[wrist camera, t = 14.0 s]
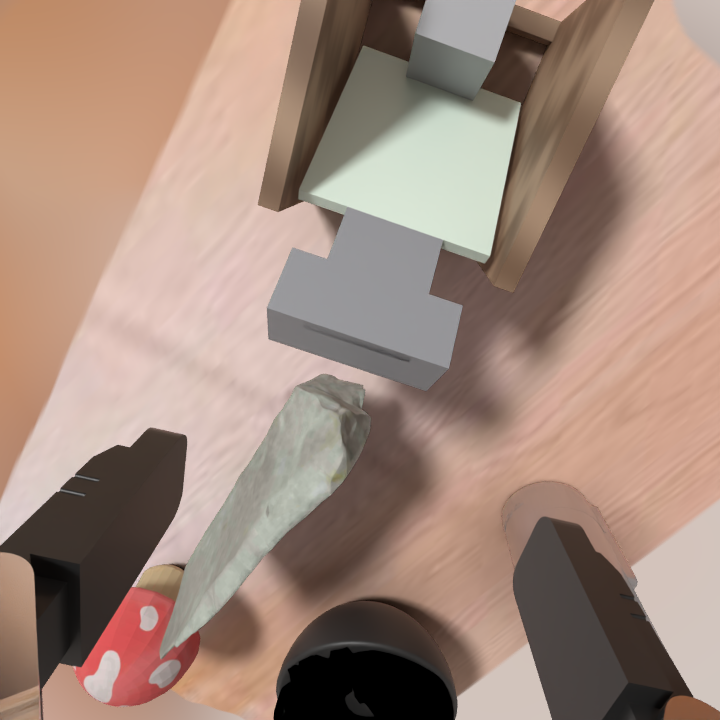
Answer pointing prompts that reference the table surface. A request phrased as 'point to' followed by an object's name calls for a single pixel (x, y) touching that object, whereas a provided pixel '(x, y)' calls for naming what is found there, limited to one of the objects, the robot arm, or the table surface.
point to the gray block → (458, 43)
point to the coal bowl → (365, 669)
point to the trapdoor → (394, 221)
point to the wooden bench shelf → (534, 126)
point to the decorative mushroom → (139, 645)
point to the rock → (272, 496)
